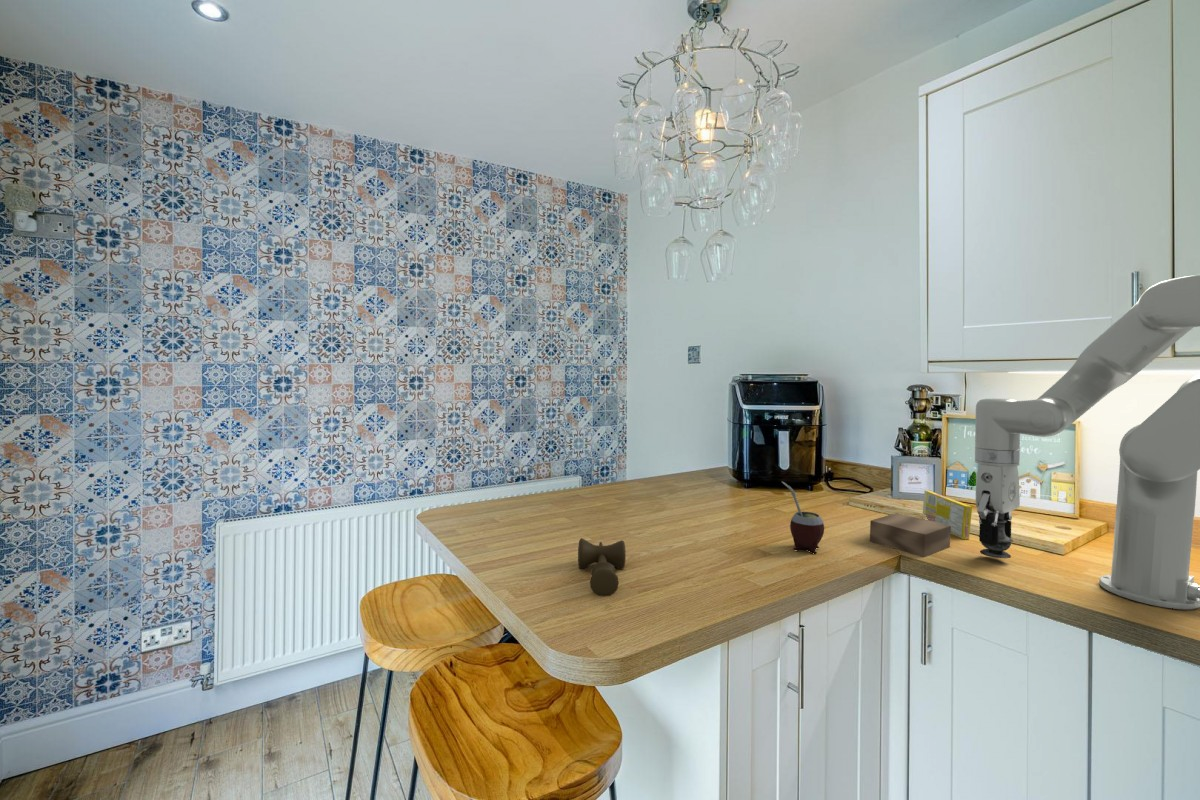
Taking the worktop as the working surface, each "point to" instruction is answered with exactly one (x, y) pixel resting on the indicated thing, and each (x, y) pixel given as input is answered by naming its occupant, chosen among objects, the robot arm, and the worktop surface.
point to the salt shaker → (1003, 541)
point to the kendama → (602, 564)
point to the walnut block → (910, 534)
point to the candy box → (948, 513)
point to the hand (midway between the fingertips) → (995, 539)
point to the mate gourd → (805, 528)
